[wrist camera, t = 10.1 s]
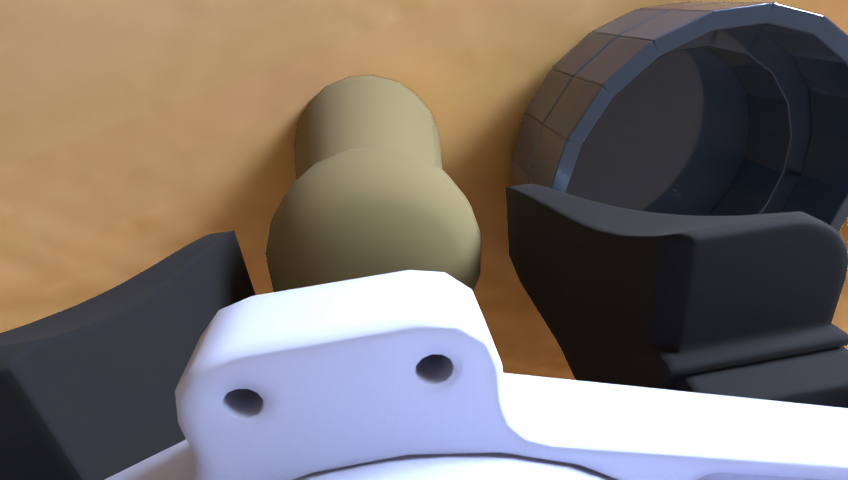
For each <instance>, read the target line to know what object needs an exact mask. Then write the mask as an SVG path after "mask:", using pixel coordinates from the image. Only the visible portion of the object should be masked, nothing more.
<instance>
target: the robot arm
mask: <svg viewBox="0 0 848 480" xmlns="http://www.w3.org/2000/svg"><path fill="white" fill-rule="evenodd" d="M506 196H507V218H508V239H509V255H510V258H511V260H512V263H513V265H514V268H515V270H516V273H517V275H518V277H519V280H520V282H521V283H522V285H523V287H524V289H525V290H526V292H527V293H528V295H529V297H530V298H531V300H532V302H533V303H534V305H535V306H536V308H537V310H538V311H539V313H540V314H541V316H542V318H543V319H544V321H545V322H546V324H547V326H548V327H549V329H550V330H551V332H552V334H553V335H554V337H555V338H556V340H557V342H558V344H559V346H560V348H561V349H562V351H563V353H564V356H565V358H566V360H567V362H568V364H569V366H570V369H571V371H572V373H573V375H574V377H575V379H576V380H570V379H560V378H550V377H540V376H531V375H521V374H511V373H504V372H503V368H502V362H501V360H500V357H499V355H498V352H497V350H496V347H495V345H494V342H493V340H492V337H491V335H490V332H489V329H488V327H487V324H486V322H485V319H484V317H483V314H482V312H481V310H480V307H479V305H478V303H477V300H476V298H475V296H474V293H473V291H472V289H470V288H469V287H467V286H466V285H464V284H463V283H461V282H459V281H458V280H456V279H455V278H453V277H452V276H450V275H448V274H447V273H445V272H434V271H419V270H405V271H399V272H393V273H387V274H381V275H375V276H369V277H363V278H357V279H351V280H345V281H339V282H333V283H327V284H321V285H315V286H309V287H303V288H297V289H291V290H285V291H279V292H273V293H267V294H261V295H255V292H254V289H253V286H252V283H251V280H250V277H249V274H248V271H247V268H246V265H245V262H244V259H243V256H242V253H241V250H240V247H239V244H238V241H237V238H236V235H235V232H234V231H227V232H221V233H215V234H210V235H207V236H204V237H202V238H200V239H198V240H196V241H194V242H192V243H190V244H189V245H187V246H185V247H183V248H182V249H180V250H178V251H177V252H175V253H174V254H172V255H170V256H169V257H167V258H165V259H164V260H162V261H160V262H159V263H157V264H155V265H154V266H152V267H150V268H148V269H147V270H145V271H143V272H141V273H140V274H138V275H136V276H134V277H133V278H131V279H129V280H127V281H125V282H124V283H122V284H120V285H118V286H116V287H114V288H112V289H110V290H108V291H106V292H104V293H102V294H100V295H98V296H96V297H94V298H92V299H89V300H87V301H85V302H83V303H81V304H78V305H76V306H74V307H71V308H69V309H66V310H64V311H61V312H58V313H56V314H53V315H51V316H48V317H45V318H43V319H40V320H38V321H35V322H33V323H30V324H27V325H24V326H21V327H18V328H15V329H12V330H9V331H6V332H3V333H0V480H848V350H847V349H845V348H844V347H843V346H845V345H847V344H848V335H847V333H845V332H844V331H842V330H841V329H839V328H838V327H836V326H835V325H833V324H832V323H831V322H832V318H833V315H834V312H835V309H836V306H837V303H838V300H839V297H840V293H841V290H842V287H843V284H844V281H845V277H846V271H847V265H848V255H847V248H846V244H845V242H844V240H843V239H842V237H841V235H840V233H839V232H838V231H837V230H835V229H834V228H833V227H831V226H830V225H828V224H827V223H825V222H823V221H821V220H819V219H817V218H815V217H813V216H811V215H809V214H806V213H804V212H800V211H796V212H783V213H769V214H756V215H739V216H693V215H677V214H662V213H653V212H645V211H639V210H632V209H626V208H621V207H616V206H611V205H607V204H603V203H599V202H595V201H591V200H587V199H584V198H580V197H577V196H574V195H570V194H567V193H564V192H561V191H557V190H554V189H551V188H547V187H544V186H540V185H536V184H524V185H517V186H511V187H506Z"/></svg>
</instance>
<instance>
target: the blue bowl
mask: <svg viewBox="0 0 848 480" xmlns="http://www.w3.org/2000/svg"><path fill="white" fill-rule="evenodd" d="M512 176H513V186H517V185H524V184H536V185H540V186H544V187H547V188H551V189H554V190H557V191H561V192H564V193H567V194H570V195H574V196H577V197H580V198H584V199H587V200H591V201H595V202H599V203H603V204H607V205H611V206H616V207H621V208H626V209H632V210H639V211H645V212H653V213H662V214H677V215H693V216H739V215H756V214H769V213H783V212H796V211H800V212H804V213H806V214H809V215H811V216H813V217H815V218H817V219H819V220H821V221H823V222H825V223H827V224H828V225H830V226H831V227H833V228H834V229H835V230H837V231H838V232H839V231H840V229H841V227H842V226H843V224H844V223H845V221H846V219H847V218H848V35H846V34H845V33H844V32H843V31H842V30H841V29H840V28H838V27H837V26H836V25H835V24H834V23H833V22H831V21H830V20H829V19H828V18H827V17H826V16H823V15H821V14H818V13H814V12H810V11H806V10H802V9H798V8H794V7H790V6H786V5H782V4H778V3H775V2H680V3H673V4H666V5H659V6H652V7H644V8H640V9H636V10H634V11H632V12H630V13H628V14H626V15H624V16H622V17H620V18H618V19H616V20H614V21H612V22H610V23H608V24H606V25H604V26H602V27H600V28H598V29H596V30H594V31H592V32H591V33H589V34H588V35H587V36H586V37H585V38H584V39H583V40H581V41H580V42H579V43H578V44H577V45H576V46H575V47H574V48H573V49H572V50H571V51H570V52H569V53H567V54H566V55H565V56H564V57H563V58H562V59H561V60H560V61H559V62H558V63H557V64H556V65H554V66H553V68H552V70H551V71H550V72H549V74H548V75H547V77H546V78H545V80H544V82H543V83H542V85H541V87H540V88H539V90H538V91H537V93H536V95H535V96H534V98H533V100H532V101H531V103H530V105H529V106H528V108H527V109H526V112H525V113H524V115H523V119H522V122H521V126H520V130H519V133H518V137H517V141H516V144H515V148H514V151H513V155H512Z"/></svg>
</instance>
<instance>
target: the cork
mask: <svg viewBox="0 0 848 480" xmlns="http://www.w3.org/2000/svg"><path fill="white" fill-rule="evenodd" d="M294 151H295V167H296V181H295V182H294V183H292V184H291V185H290V187H289V189H288V190H287V192H286V194H285V196H284V198H283V199H282V201H281V203H280V205H279V206H278V208H277V210H276V212H275V214H274V216H273V218H272V221H271V223H270V229H269V236H268V243H267V249H266V258H267V264H268V268H269V273H270V278H271V282H272V287H273V291H274V292H279V291H285V290H291V289H297V288H303V287H309V286H315V285H321V284H327V283H333V282H339V281H345V280H351V279H357V278H363V277H369V276H375V275H381V274H387V273H393V272H399V271H405V270H419V271H434V272H445V273H447V274H448V275H450V276H452V277H453V278H455V279H456V280H458V281H459V282H461V283H463V284H464V285H466V286H467V287H469V288H470V289H472V291H474V289H475V286H476V283H477V280H478V278H479V275H480V252H481V233H480V230H479V227H478V224H477V222H476V219H475V216H474V213H473V210H472V208H471V205H470V203H469V201H468V200H467V198H466V197H465V195H464V194H463V193H462V192H461V190H460V189H459V188H458V187H457V186H456V184H455V183H454V182H453V181H452V180H451V178H450V177H449V176H448V175H447V174H446V172H444V171H443V170H442V164H441V153H440V142H439V133H438V130H437V128H436V125H435V122H434V120H433V117H432V114H431V112H430V111H429V110H428V108H427V107H426V106H425V105H424V103H423V102H422V101H421V100H420V98H419V97H418V96H417V95H416V94H415V93H413V92H412V91H410V90H409V89H407V88H406V87H404V86H403V85H401V84H400V83H398V82H396V81H392V80H389V79H385V78H381V77H377V76H374V75H372V76H357V77H348V78H345V79H343V80H341V81H338V82H336V83H333V84H331V85H329V86H326V87H325V88H324V89H323V90H322V91H321V92H320V93H319V94H318V95H316V96H315V97H314V98H313V99H312V100H311V101H310V102H309V103H308V105H307V107H306V109H305V111H304V112H303V114H302V116H301V118H300V120H299V122H298V125H297V131H296V137H295V143H294Z"/></svg>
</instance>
